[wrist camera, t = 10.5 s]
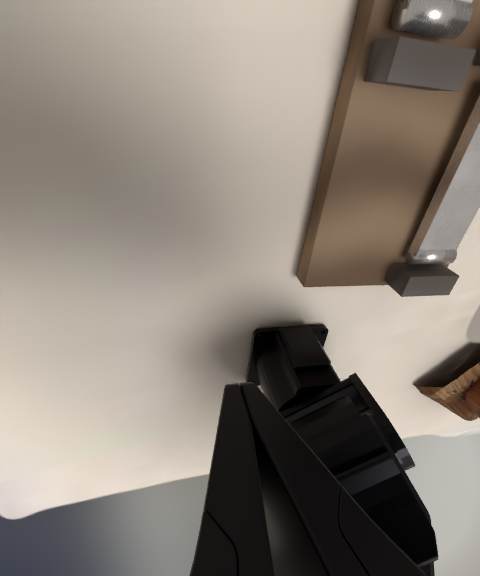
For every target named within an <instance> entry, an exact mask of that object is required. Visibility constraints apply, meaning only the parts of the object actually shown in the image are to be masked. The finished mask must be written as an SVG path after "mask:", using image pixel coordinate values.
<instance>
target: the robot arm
mask: <svg viewBox="0 0 480 576" xmlns="http://www.w3.org/2000/svg"><path fill="white" fill-rule="evenodd" d="M322 330H323V331H322ZM259 334H261V335H259ZM327 334H328V329H327V327H326V326H325V325H311V326H294V327H276V328H259V329H256V330H255V331H254V333H253V338H252V345H251V351H250V357H249V364H248V370H247V376H246V383H240V384H237V383H235V384H226V385H225V388H224V393H223V399H222V405H221V411H220V416H219V422H218V428H217V434H216V440H215V445H214V451H213V457H212V463H211V468H210V474H209V481H208V486H207V492H206V497H205V503H204V510H203V514H202V520H201V526H200V531H199V536H198V541H197V546H196V551H195V556H194V561H193V564H192V568H191V572H190V576H434V561H436V560H438V551H437V544H436V537H435V532H434V530H433V527H432V526H431V519H430V515H429V513H428V511H427V509H426V507H425V505H424V504H423V502H422V500H421V499H420V497H419V495H418V493H417V492H416V490H415V488H414V486H413V485H412V483H411V481H410V480H409V478H408V476H407V474H406V473H405V471H404V470H408V469H410V468H412V467H415V464H414V462H413V460H412V458H411V456H410V454H409V452H408V450H407V449H406V447H405V445H404V443H403V442H402V440H401V438H400V437H399V435H398V433H397V432H396V430H395V429H394V427H393V425H392V424H391V422H390V421H389V419H388V418H387V416H386V415H385V413H384V412H383V410H382V409H381V408H380V406H379V405H378V403H377V402H376V401H375V399H374V398H373V397H372V395H371V394H370V392H369V391H368V390H367V388H366V387H365V385H364V384H363V383H362V381H361V380H360V378H359V377H358V376H357V374H356V373H354V374H352V375H350V376H349V378H347V379H345V380H343V381H340V379H339V377H338V376H337V374H336V372H335V371H334V369H333V367H332V365H331V361H330V359H329V358H328V356H327V354H326V352H325V351H324V349H323V346H324V343H325V340H326V337H327ZM258 385H261V388H262V391H263V393H262V391H261V390H260V389H259V388H258V387H257V386H258Z"/></svg>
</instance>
